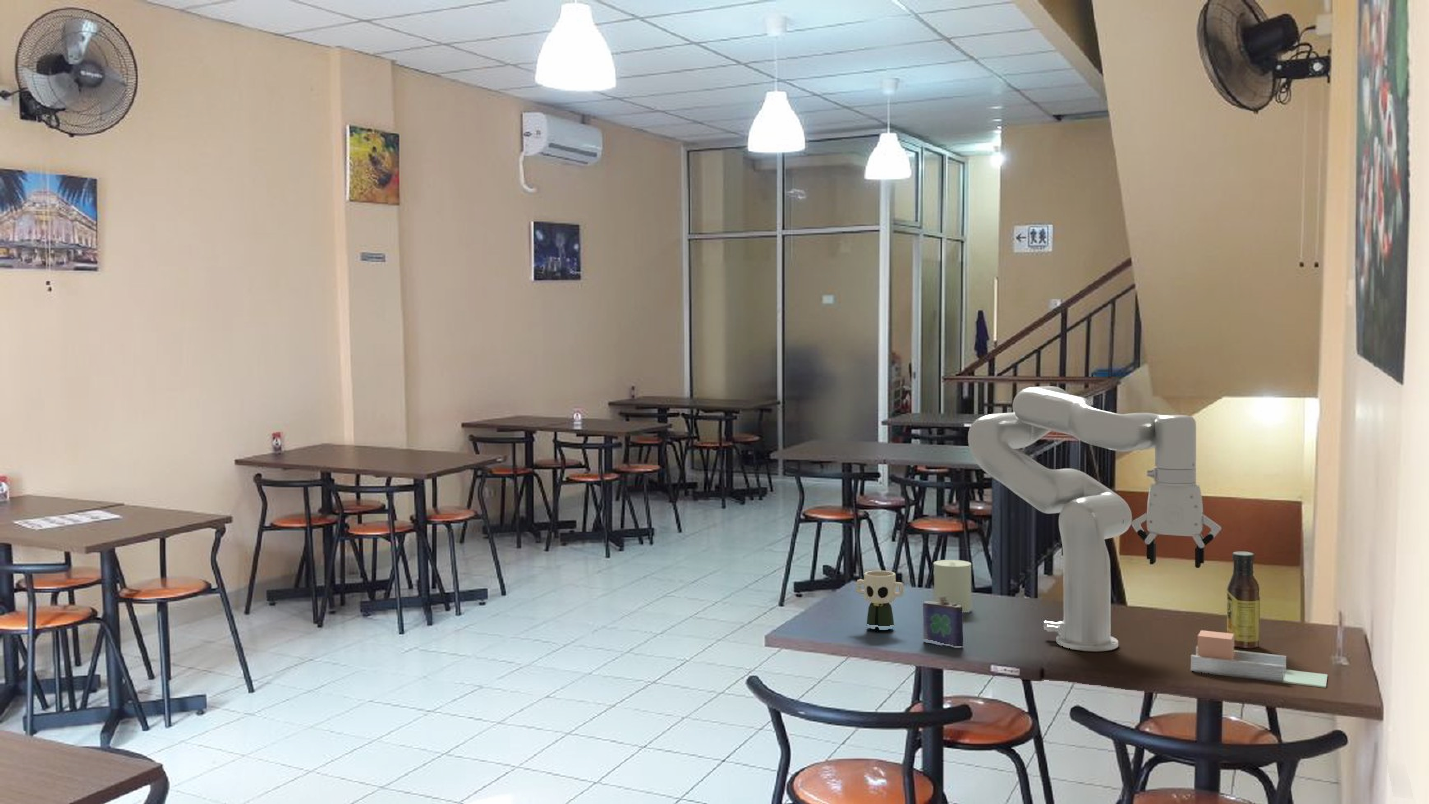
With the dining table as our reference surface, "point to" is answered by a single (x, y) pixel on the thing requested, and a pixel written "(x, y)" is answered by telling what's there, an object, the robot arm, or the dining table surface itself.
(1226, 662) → the chute
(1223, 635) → the block
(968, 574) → the can
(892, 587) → the character mug
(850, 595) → the dining table surface
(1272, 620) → the dining table surface
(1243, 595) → the sauce bottle
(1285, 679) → the pad
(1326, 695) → the dining table surface
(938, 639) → the flask
